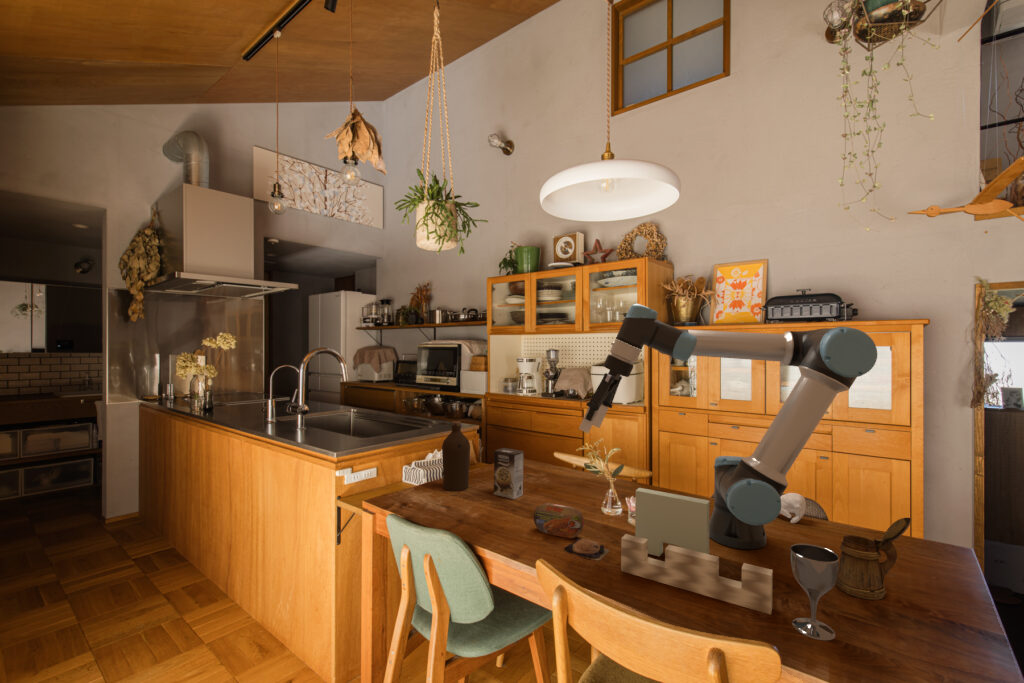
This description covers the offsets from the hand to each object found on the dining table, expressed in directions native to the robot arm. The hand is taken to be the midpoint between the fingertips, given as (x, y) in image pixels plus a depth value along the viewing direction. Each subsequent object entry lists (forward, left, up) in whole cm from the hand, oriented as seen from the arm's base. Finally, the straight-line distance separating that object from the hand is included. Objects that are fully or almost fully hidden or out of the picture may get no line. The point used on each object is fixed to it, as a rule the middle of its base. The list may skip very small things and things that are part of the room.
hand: (589, 428), depth 130 cm
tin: (+7, -7, -32) cm, 33 cm away
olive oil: (+33, -55, -32) cm, 71 cm away
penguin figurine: (-67, -6, -32) cm, 75 cm away
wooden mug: (-53, +36, -32) cm, 72 cm away
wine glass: (-29, +45, -32) cm, 63 cm away
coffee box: (+15, -43, -32) cm, 55 cm away
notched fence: (-14, +27, -32) cm, 44 cm away
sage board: (-18, +12, -32) cm, 38 cm away
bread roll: (+2, +5, -32) cm, 33 cm away
